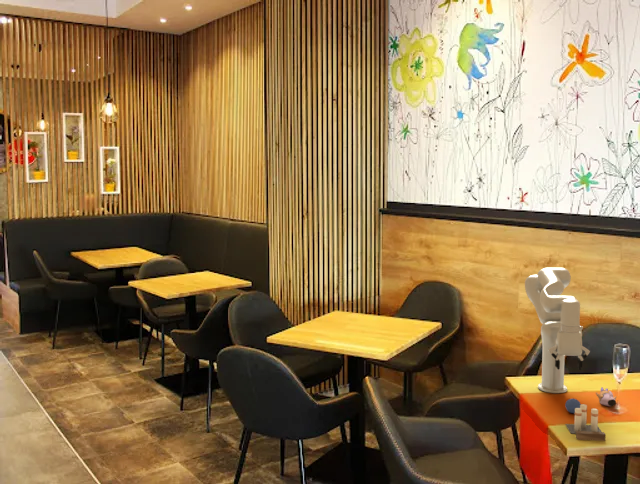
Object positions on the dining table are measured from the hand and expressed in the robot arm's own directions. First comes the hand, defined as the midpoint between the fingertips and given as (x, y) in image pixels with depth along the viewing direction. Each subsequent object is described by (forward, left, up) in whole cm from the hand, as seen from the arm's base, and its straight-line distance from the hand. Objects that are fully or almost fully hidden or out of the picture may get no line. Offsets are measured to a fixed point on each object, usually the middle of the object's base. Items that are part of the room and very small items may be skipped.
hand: (568, 368), depth 276 cm
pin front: (+25, 0, -16) cm, 30 cm away
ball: (+10, 0, -13) cm, 16 cm away
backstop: (+36, 0, -16) cm, 39 cm away
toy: (-3, +17, -16) cm, 24 cm away
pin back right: (+29, -3, -16) cm, 34 cm away
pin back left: (+29, +3, -16) cm, 34 cm away
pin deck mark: (+27, 0, -16) cm, 31 cm away
